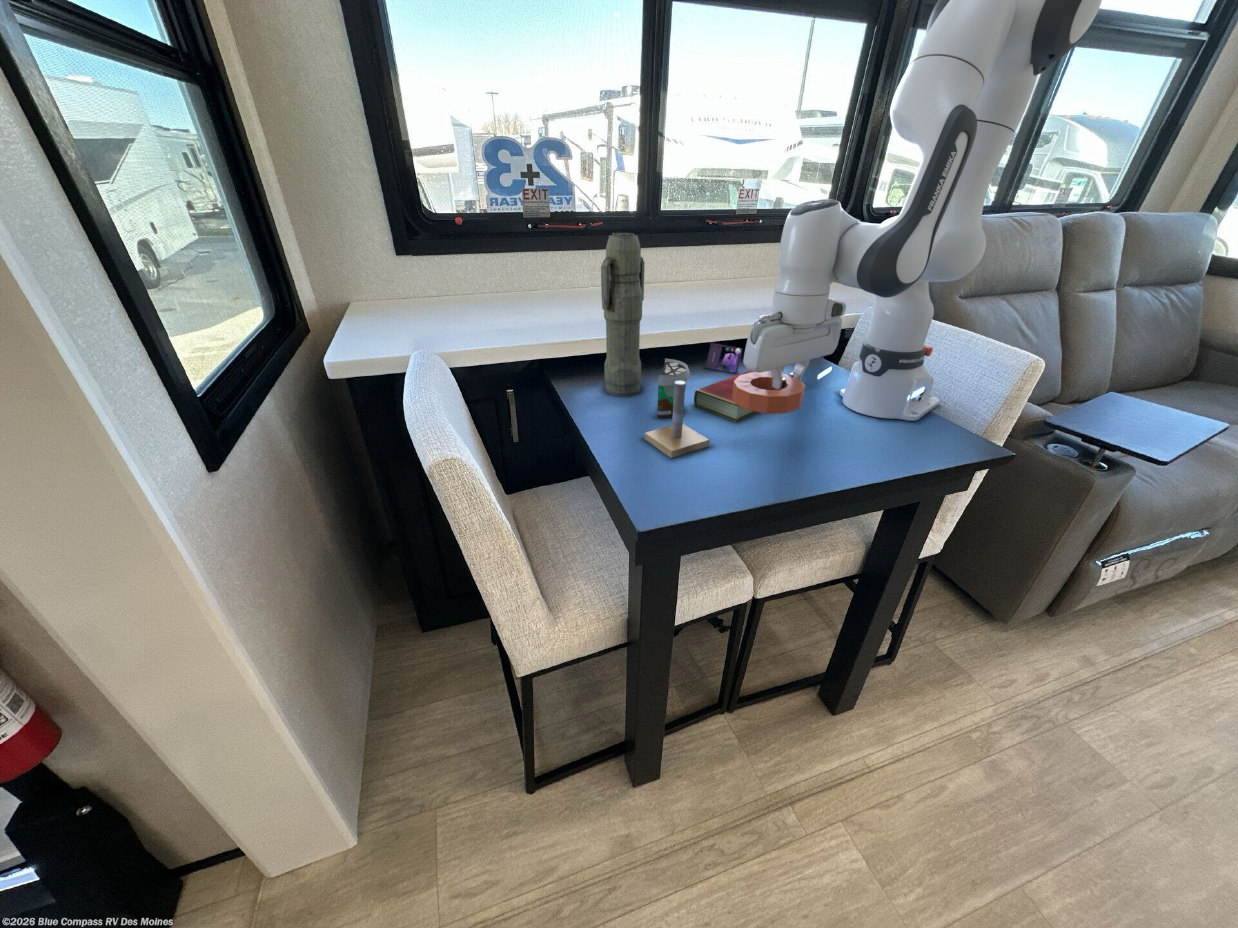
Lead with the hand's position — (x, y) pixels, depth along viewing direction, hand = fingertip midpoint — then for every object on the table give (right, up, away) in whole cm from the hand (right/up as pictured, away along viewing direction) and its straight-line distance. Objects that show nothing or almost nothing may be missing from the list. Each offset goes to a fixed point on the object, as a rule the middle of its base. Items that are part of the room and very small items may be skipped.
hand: (786, 385), depth 89 cm
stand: (-20, -10, +6) cm, 23 cm away
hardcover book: (-2, 0, +24) cm, 24 cm away
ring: (-4, -3, -1) cm, 5 cm away
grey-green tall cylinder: (-30, +4, +31) cm, 43 cm away
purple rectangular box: (-2, +12, +44) cm, 46 cm away
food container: (-19, -3, +19) cm, 27 cm away
